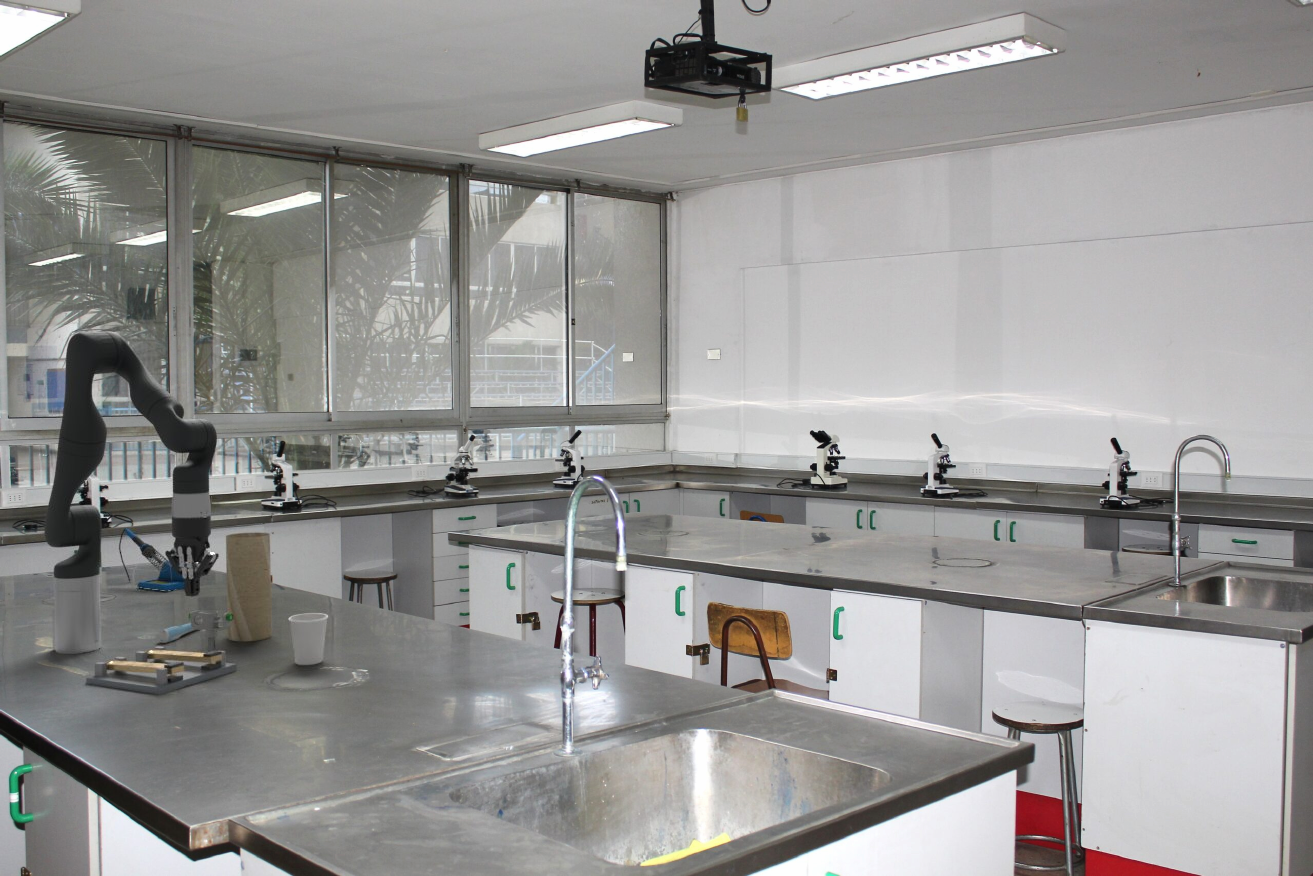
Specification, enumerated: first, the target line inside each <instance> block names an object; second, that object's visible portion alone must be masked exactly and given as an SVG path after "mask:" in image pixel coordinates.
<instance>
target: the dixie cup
mask: <svg viewBox="0 0 1313 876" xmlns="http://www.w3.org/2000/svg"><path fill="white" fill-rule="evenodd" d="M328 618H329V615H328V614H326V613H320V612H319V613H318V612H308V613H299V614H294V615H291V616H290V617H288V621H289V627H290V633H291V634H290V635H291V640H292V641H291V642H292V648H293V655H294V662H295V664H296V665H298V666H310V665H311V666H312V665H316V664H320V663H323V659H324V658H323V657H324V650H325V641H326V640H325V639H326V633H327V632H326V631H327V624H328V623H327V622H328Z"/></svg>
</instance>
